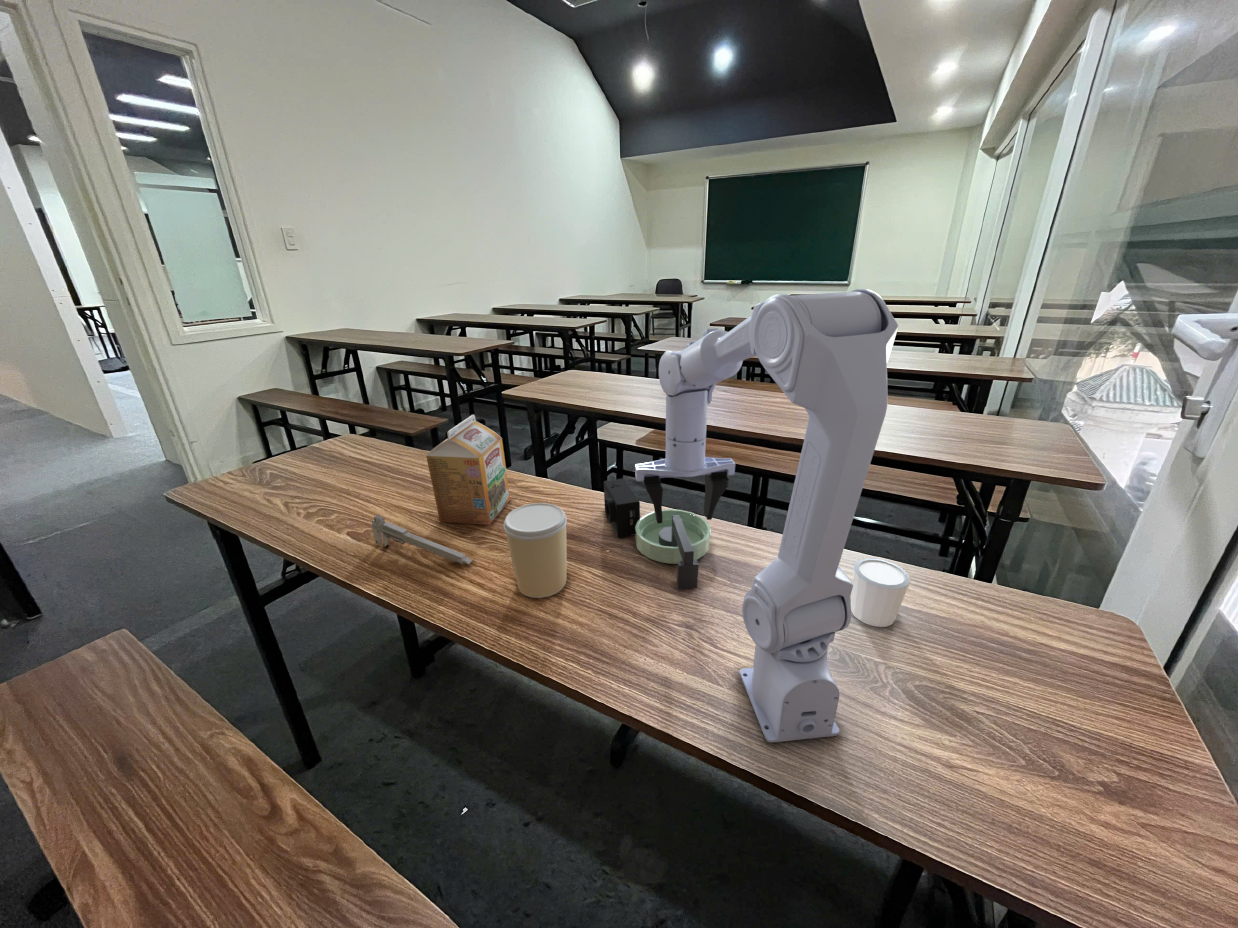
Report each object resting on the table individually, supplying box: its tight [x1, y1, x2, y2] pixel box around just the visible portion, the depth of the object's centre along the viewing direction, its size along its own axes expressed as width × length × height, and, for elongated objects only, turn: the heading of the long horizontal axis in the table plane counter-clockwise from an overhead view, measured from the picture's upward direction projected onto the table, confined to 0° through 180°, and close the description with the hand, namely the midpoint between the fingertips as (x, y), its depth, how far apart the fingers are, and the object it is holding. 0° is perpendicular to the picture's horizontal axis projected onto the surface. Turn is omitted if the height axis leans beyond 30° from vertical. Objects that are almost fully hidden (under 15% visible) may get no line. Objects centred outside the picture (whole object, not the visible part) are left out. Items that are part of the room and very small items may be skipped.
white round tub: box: [850, 557, 911, 628], centre depth 66 cm, size 7×7×7 cm
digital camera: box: [603, 478, 641, 539], centre depth 91 cm, size 10×5×7 cm, turn 15°
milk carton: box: [425, 414, 511, 526], centre depth 95 cm, size 11×11×19 cm
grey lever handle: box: [659, 515, 699, 590], centre depth 79 cm, size 15×5×7 cm, turn 5°
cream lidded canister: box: [503, 502, 568, 599], centre depth 74 cm, size 9×9×12 cm
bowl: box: [634, 508, 712, 565], centre depth 84 cm, size 13×13×4 cm
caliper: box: [371, 513, 473, 565], centre depth 83 cm, size 20×1×6 cm, turn 70°
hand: (683, 518), depth 74 cm, fingers open, 7 cm apart
